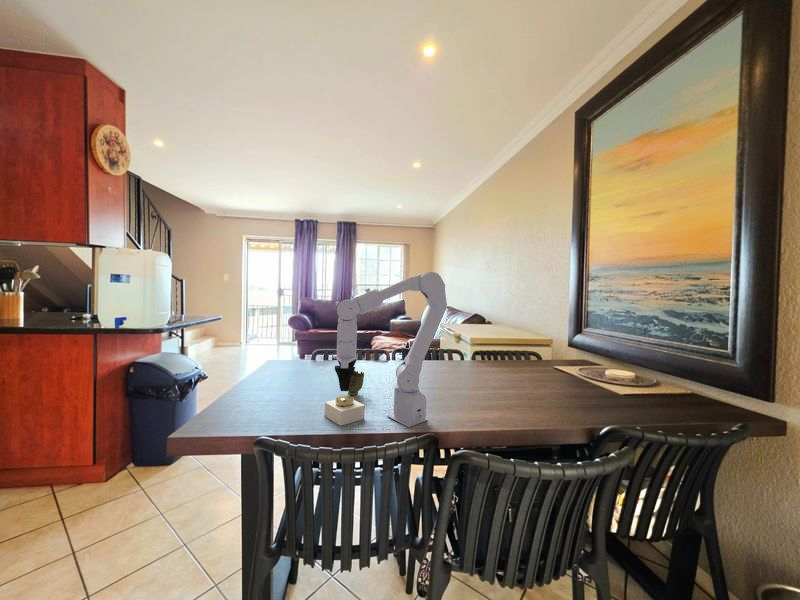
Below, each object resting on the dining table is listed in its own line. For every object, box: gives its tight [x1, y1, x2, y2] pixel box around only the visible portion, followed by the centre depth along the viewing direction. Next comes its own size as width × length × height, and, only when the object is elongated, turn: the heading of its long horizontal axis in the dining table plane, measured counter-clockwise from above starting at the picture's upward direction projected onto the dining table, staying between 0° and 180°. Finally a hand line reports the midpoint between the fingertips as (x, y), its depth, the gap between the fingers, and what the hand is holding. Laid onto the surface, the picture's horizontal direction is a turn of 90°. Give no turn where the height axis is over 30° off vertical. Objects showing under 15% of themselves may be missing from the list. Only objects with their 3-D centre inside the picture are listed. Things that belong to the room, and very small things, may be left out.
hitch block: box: [323, 399, 366, 427], centre depth 92 cm, size 9×8×4 cm
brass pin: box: [335, 395, 355, 407], centre depth 92 cm, size 5×5×5 cm
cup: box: [347, 369, 365, 397], centre depth 112 cm, size 8×7×8 cm
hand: (345, 386), depth 92 cm, fingers open, 7 cm apart
